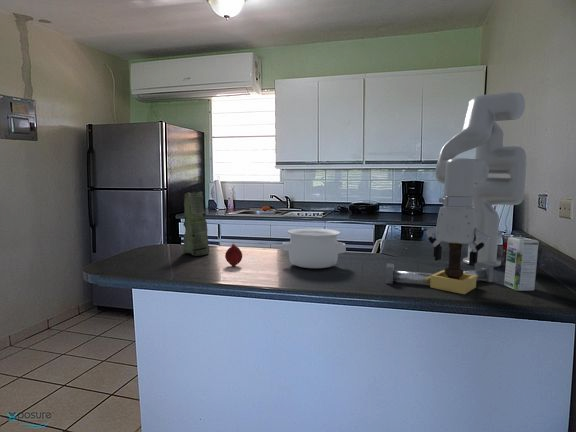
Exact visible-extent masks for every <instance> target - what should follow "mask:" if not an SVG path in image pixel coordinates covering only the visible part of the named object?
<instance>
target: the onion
mask: <svg viewBox="0 0 576 432" xmlns="http://www.w3.org/2000/svg"><path fill="white" fill-rule="evenodd" d="M224 256H225V260H226V262H227V263H228V264H229V265H230V266H232V267H236V266H237V265H238V264H240V262H242V260H243V252H242V250H241V249H240V248H239V246H237V245H236V244H235V243H234V242H233V243H232V244H231V246H230V247H229V248H228V249H227V250H226V252H225V254H224Z"/></svg>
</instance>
